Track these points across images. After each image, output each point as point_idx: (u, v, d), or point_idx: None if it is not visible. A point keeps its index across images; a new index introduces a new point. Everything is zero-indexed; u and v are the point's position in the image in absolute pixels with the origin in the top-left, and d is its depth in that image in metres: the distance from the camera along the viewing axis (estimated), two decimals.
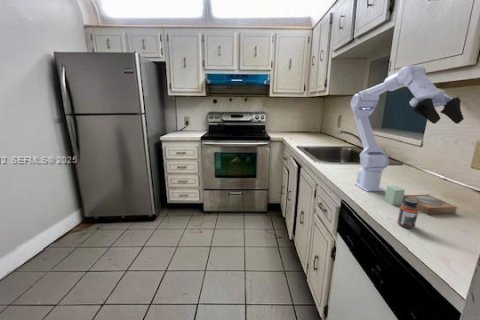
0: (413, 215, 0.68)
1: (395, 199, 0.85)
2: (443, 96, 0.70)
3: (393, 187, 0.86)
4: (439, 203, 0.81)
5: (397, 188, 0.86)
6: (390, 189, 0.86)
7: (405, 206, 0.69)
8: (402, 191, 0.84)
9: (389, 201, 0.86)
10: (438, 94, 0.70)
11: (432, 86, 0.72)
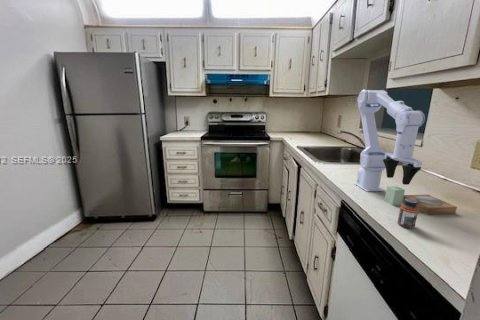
0: (413, 215, 0.68)
1: (395, 199, 0.85)
2: None
3: (393, 187, 0.86)
4: (439, 203, 0.81)
5: (397, 188, 0.86)
6: (390, 189, 0.86)
7: (405, 206, 0.69)
8: (402, 191, 0.84)
9: (389, 201, 0.86)
10: None
11: (396, 147, 0.82)
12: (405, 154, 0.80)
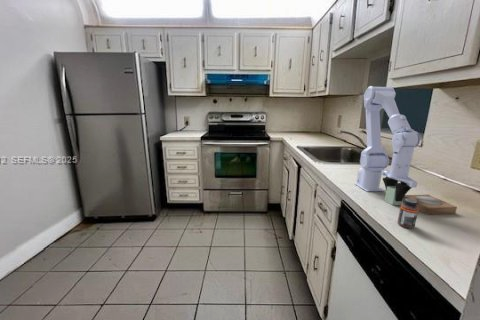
0: (413, 215, 0.68)
1: None
2: None
3: (393, 187, 0.86)
4: (439, 203, 0.81)
5: None
6: (390, 189, 0.86)
7: (405, 206, 0.69)
8: None
9: (389, 201, 0.86)
10: None
11: (392, 167, 0.84)
12: (401, 174, 0.82)
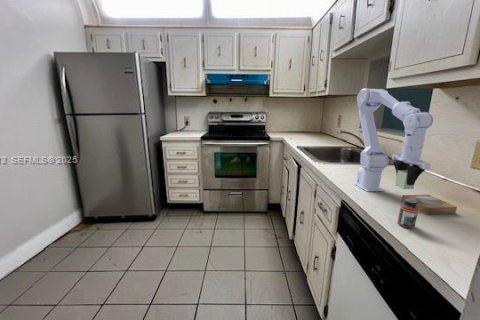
0: (413, 215, 0.68)
1: None
2: None
3: (404, 171, 0.84)
4: (439, 203, 0.81)
5: None
6: (401, 173, 0.83)
7: (405, 206, 0.69)
8: None
9: (400, 185, 0.84)
10: None
11: (404, 149, 0.81)
12: (413, 156, 0.79)
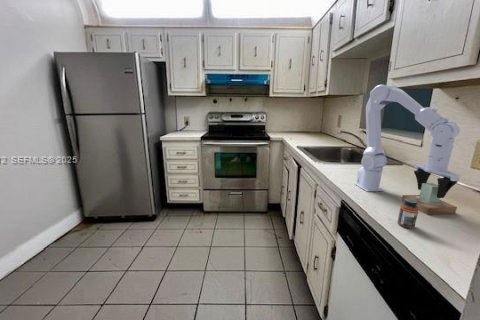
0: (413, 215, 0.68)
1: (432, 197, 0.81)
2: None
3: (429, 184, 0.83)
4: (439, 203, 0.81)
5: (434, 185, 0.82)
6: (426, 186, 0.82)
7: (405, 206, 0.69)
8: None
9: (425, 198, 0.83)
10: None
11: (430, 160, 0.80)
12: (440, 167, 0.78)
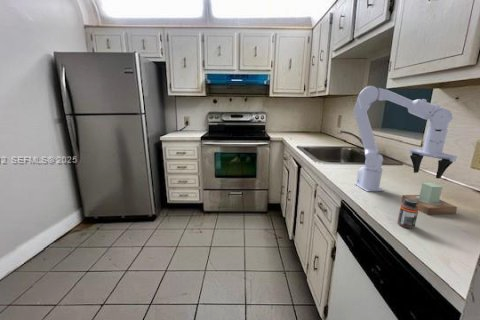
0: (413, 215, 0.68)
1: (432, 197, 0.81)
2: None
3: (429, 184, 0.83)
4: (439, 203, 0.81)
5: (434, 185, 0.82)
6: (426, 186, 0.82)
7: (405, 206, 0.69)
8: (439, 188, 0.80)
9: (425, 198, 0.83)
10: None
11: (429, 144, 0.85)
12: (439, 150, 0.84)
